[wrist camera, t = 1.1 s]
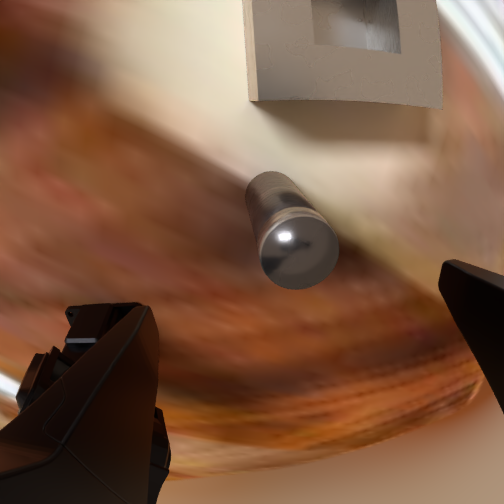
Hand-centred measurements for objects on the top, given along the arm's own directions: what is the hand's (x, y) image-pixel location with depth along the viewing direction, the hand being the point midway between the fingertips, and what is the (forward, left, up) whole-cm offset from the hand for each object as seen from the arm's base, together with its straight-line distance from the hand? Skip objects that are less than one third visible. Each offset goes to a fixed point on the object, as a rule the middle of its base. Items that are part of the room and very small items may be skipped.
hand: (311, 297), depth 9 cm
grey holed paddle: (+15, -5, -12) cm, 20 cm away
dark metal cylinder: (-1, -1, -12) cm, 12 cm away
